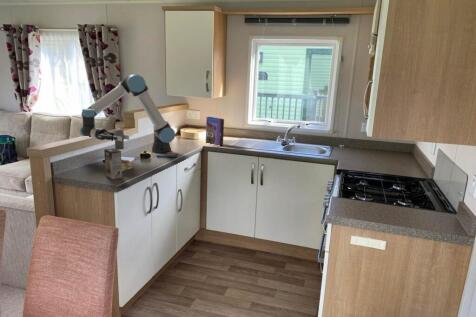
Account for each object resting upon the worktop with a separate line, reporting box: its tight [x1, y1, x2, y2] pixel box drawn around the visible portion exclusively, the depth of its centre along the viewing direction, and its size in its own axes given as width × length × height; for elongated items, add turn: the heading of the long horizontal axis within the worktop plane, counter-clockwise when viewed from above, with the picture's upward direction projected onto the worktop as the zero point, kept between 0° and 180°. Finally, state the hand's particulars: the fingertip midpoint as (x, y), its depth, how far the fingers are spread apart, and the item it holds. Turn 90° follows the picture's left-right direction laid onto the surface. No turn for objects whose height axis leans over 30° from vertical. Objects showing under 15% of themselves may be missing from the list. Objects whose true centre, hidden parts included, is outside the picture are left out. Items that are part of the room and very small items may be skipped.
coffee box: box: [103, 147, 123, 180], centre depth 202 cm, size 9×6×16 cm
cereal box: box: [205, 116, 225, 146], centre depth 307 cm, size 17×5×24 cm, turn 48°
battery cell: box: [113, 128, 125, 151], centre depth 222 cm, size 6×6×13 cm
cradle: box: [121, 159, 134, 172], centre depth 221 cm, size 11×10×4 cm
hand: (125, 138), depth 220 cm, fingers closed on battery cell, 5 cm apart
